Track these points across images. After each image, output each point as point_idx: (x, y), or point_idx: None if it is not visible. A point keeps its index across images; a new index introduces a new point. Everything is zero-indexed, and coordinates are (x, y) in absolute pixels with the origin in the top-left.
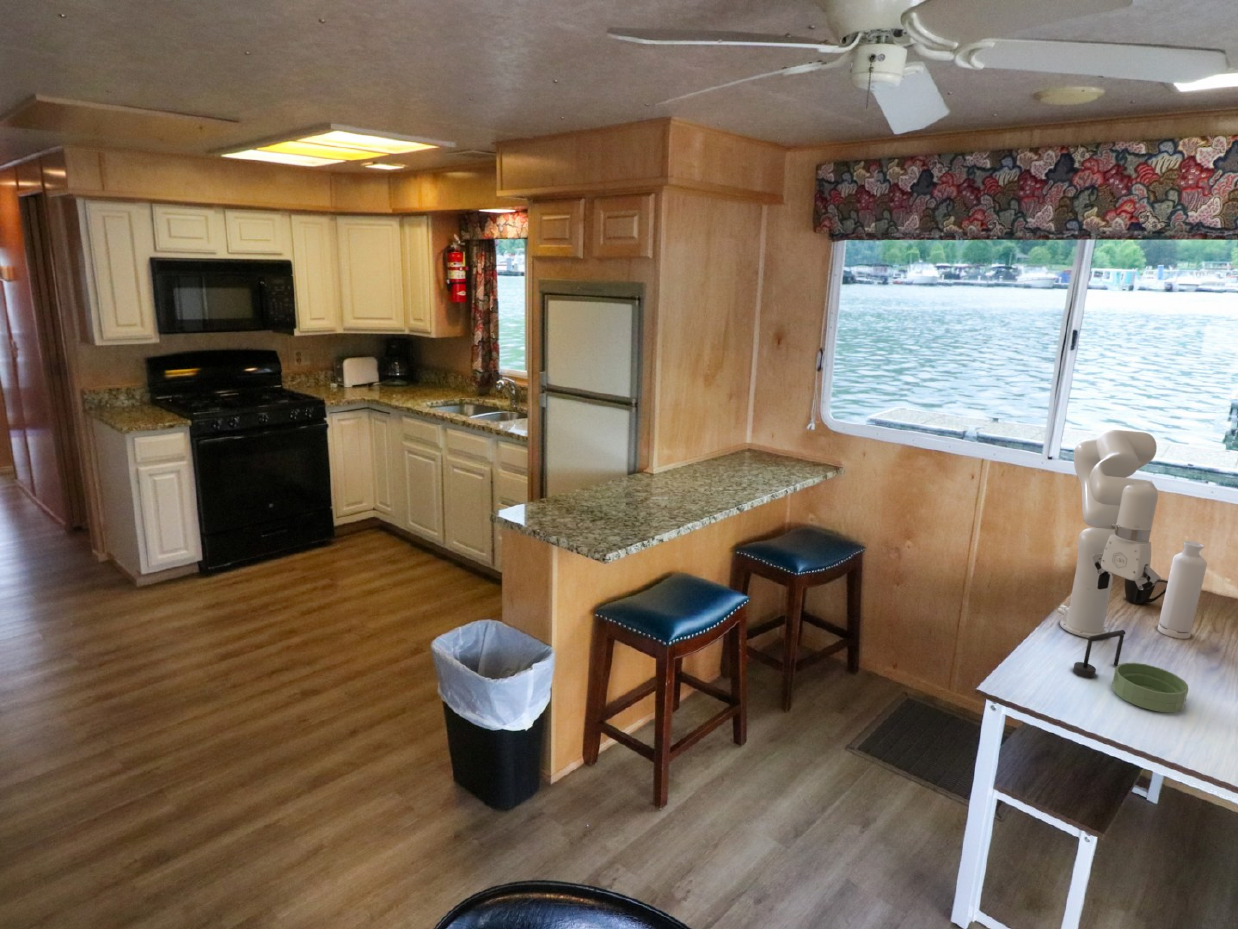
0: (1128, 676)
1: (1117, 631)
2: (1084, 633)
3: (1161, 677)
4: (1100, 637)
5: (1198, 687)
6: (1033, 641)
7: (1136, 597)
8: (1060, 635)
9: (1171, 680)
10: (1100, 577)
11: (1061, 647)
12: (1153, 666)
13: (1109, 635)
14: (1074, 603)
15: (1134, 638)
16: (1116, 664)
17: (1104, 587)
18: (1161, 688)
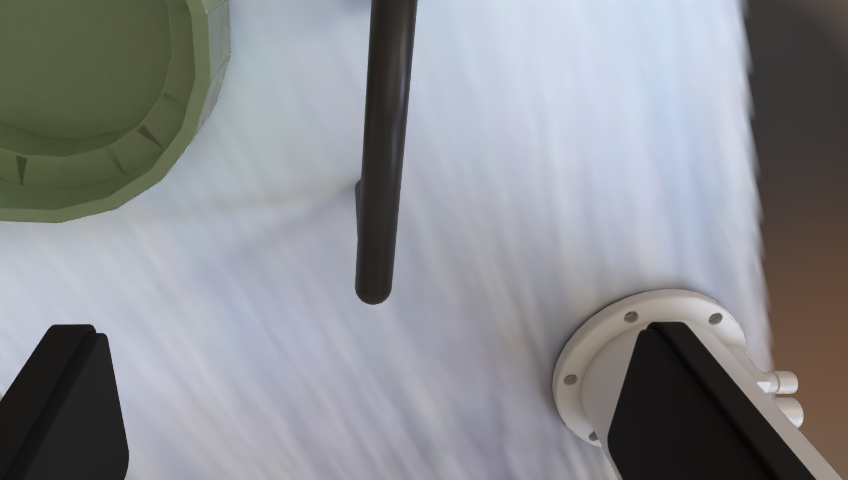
0: (171, 38)
1: (375, 243)
2: (616, 319)
3: (86, 188)
4: (373, 37)
5: None
6: (740, 30)
7: (5, 402)
8: (681, 229)
9: (23, 192)
10: (781, 459)
11: (617, 115)
12: (124, 200)
13: (366, 141)
14: (762, 406)
15: (490, 474)
16: (357, 185)
17: (628, 406)
18: (68, 143)
